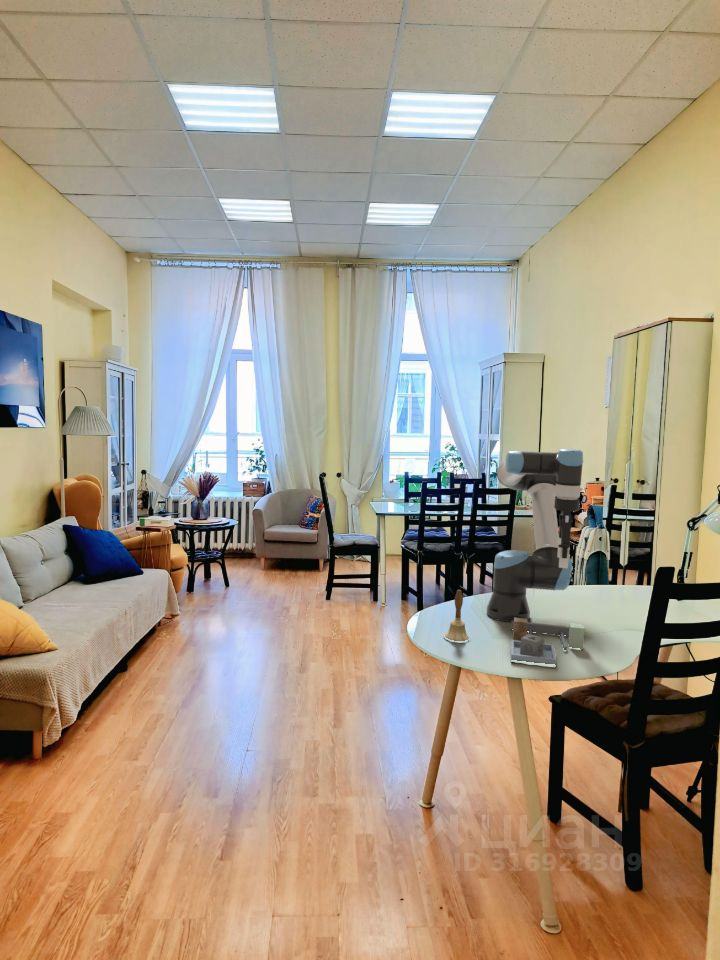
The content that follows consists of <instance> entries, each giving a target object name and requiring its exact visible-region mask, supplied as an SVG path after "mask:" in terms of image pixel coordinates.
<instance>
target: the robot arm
mask: <svg viewBox="0 0 720 960" xmlns="http://www.w3.org/2000/svg"><path fill="white" fill-rule="evenodd" d="M583 463H584V452H583V450H580V449H576V448H575V449H573V448H561V449H559V450H558V452H548V451H547V452H545V451H543V452H540V451H522V450H521V451H520V450H514V451H512V450H510V451H508V452H507V453H506V457H505V461H503V462H502V463H500V465H499V466H498V467H497V470H496V477H497V480H498V481H499V483H500V484H501V485H503V486H504V487H505V488H508V489H510V490H514V491H522V492H523V491H526V495H527V496H528V497H529V498H530V499H531V506H532V507H531V509H532V519H533V531H534V533H533V534H534V545H535V549H534V550H533V551H532V553H531V555H530V553H529V552H528V551H526V550H522V549H521V550H520V549H509V550H503V551H500V552H498V553H496V554H495V557H494V565H493V582H492V583H493V585H492V594H491V595H490V598H489V600H488V604H487V607H486V615H487V614H488V615H489V616H488V615H487V616H488V617H490V616H491V617H490V618H492V617H493V618H492V619H494V618H495V619H494V620H497V619H498V621H501V620H502V622H508V621H509V623H512V621H514V618H524V619H527V621H529V619H530V616H531V611H530V606H529V602H528V599H527V589H532V590H533V589H534V590H547V591H564V590H567V588H569V584H570V581H571V577H572V572H573V569H572V568H573V561H572V559H571V558H570V548H571V530H572V525H573V524H572V523H573V520H574V519H573V515H571V512H578V511H579V510H580V502H581V501H580V500H581V499H579V498H580V496H581V492H583V488H582V487H581V485H582V484H581V482H582V473H583ZM557 511H560V514H558V513H557ZM557 514H558V517H557ZM558 521H559V523H558ZM558 524H559V526H558Z"/></svg>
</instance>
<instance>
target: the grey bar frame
mask: <svg viewBox="0 0 720 960" xmlns="http://www.w3.org/2000/svg"><path fill="white" fill-rule="evenodd" d="M510 624H511V625H510V630H511V629H514V621H512V622H510ZM527 631H529V633H528V634H531V635H533V633H532V632H536V633H535V634H537V633H547V634H555V635H554V636H556V635H560V636H559V638H560V637H561V639H560V642H561V641H562V643H561V645H562V644H563V647H562V649H563V648H564V650H567V651H568V647H567V646H568V645H567V643H566V639H565V638H566V637H565V636H564V635H566V636H569V626H567V625H559V624H558V625H557V624H547V623H540V622H539V623H538V622H530V621H529V622H528V621H527Z"/></svg>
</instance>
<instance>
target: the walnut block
mask: <svg viewBox="0 0 720 960" xmlns="http://www.w3.org/2000/svg"><path fill="white" fill-rule="evenodd" d="M527 622H528V620H527V619H524V618H514V629H513V631H512V632H513V633H512V640H517V641H521V638H522V637H524V636H526V635H527V634H528V632H527Z"/></svg>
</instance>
